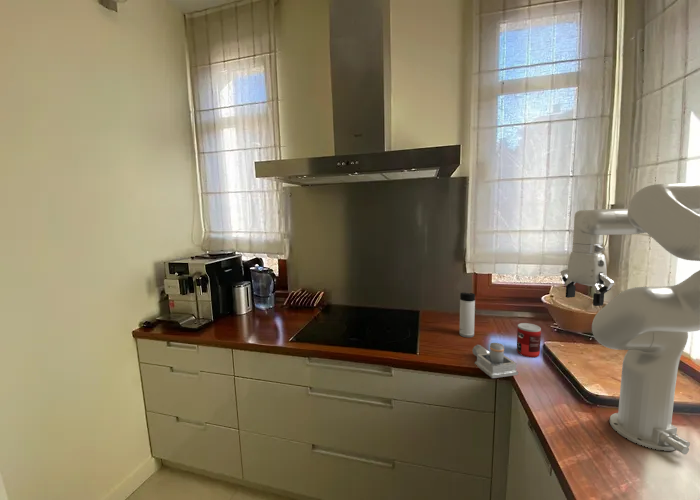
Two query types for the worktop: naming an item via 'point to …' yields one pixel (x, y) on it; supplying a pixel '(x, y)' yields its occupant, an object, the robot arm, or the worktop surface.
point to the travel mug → (467, 314)
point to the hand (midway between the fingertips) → (583, 301)
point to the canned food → (528, 340)
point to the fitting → (493, 369)
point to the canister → (496, 353)
